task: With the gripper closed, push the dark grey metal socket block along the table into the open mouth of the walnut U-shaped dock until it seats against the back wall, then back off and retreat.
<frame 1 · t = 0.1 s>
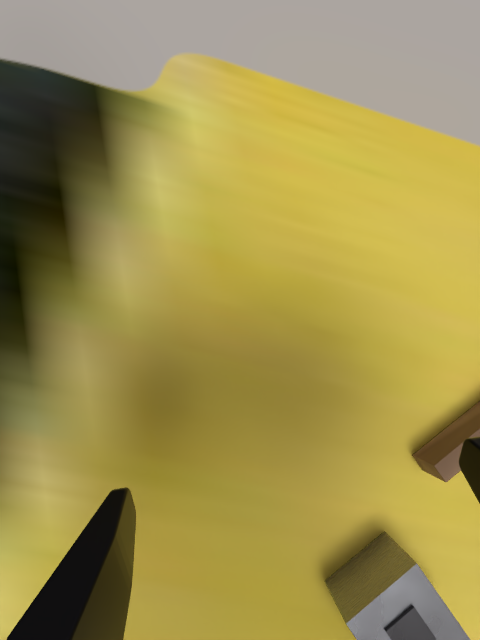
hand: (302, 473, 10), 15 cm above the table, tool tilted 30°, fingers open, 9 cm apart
socket: (376, 587, 24), on the table
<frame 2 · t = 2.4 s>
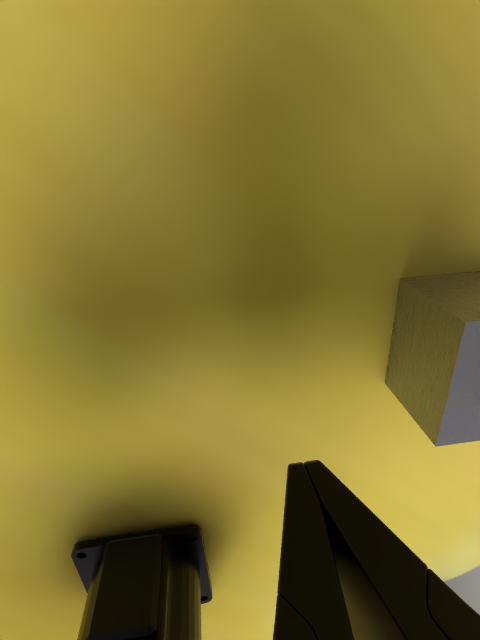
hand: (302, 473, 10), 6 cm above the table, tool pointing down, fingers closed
socket: (445, 327, 16), on the table
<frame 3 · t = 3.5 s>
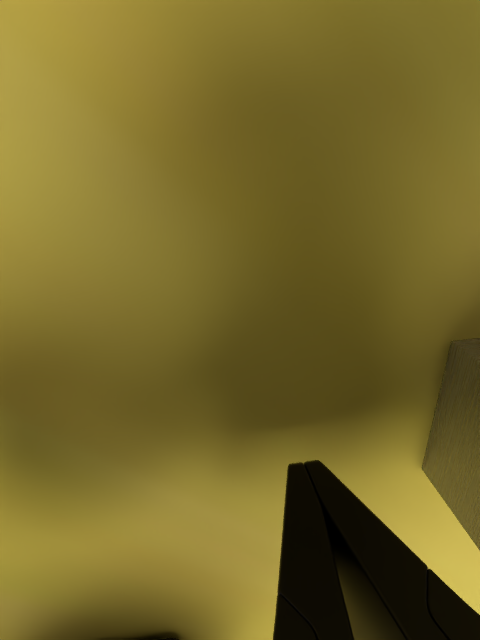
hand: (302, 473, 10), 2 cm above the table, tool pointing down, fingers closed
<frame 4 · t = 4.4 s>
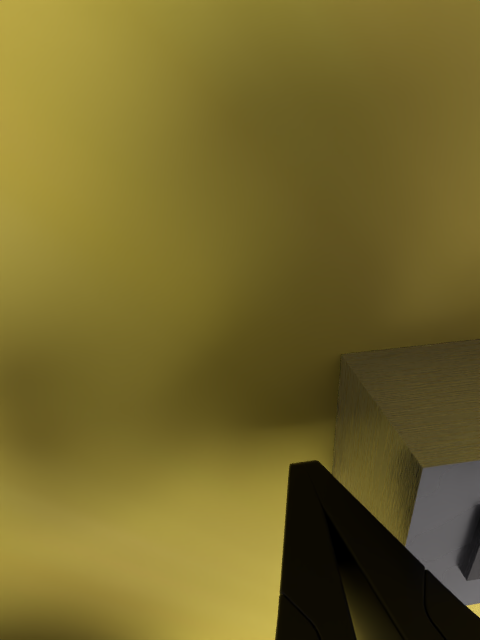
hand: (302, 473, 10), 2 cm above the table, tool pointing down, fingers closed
socket: (413, 414, 11), on the table, touching gripper
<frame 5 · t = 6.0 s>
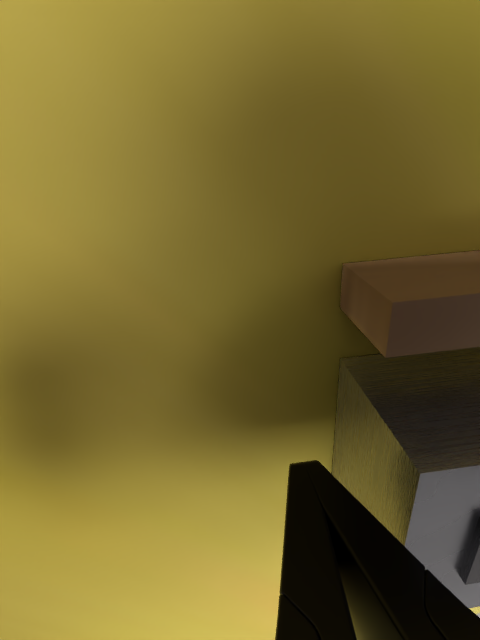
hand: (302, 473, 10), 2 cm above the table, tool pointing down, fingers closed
socket: (412, 417, 11), on the table, touching gripper
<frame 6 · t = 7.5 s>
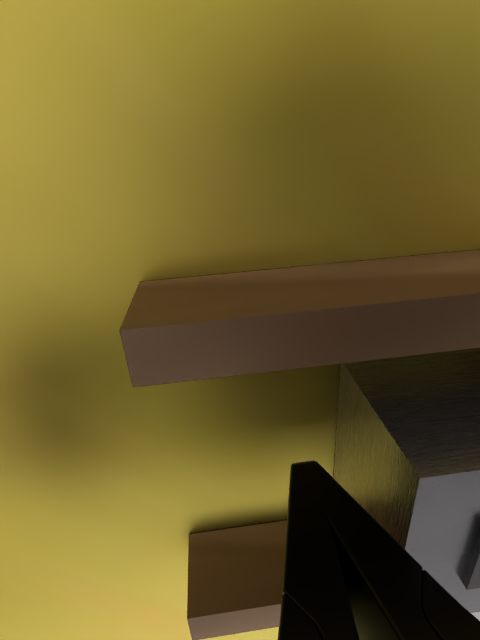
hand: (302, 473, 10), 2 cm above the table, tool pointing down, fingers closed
dock: (336, 426, 11), on the table
socket: (414, 419, 11), on the table, touching dock, gripper
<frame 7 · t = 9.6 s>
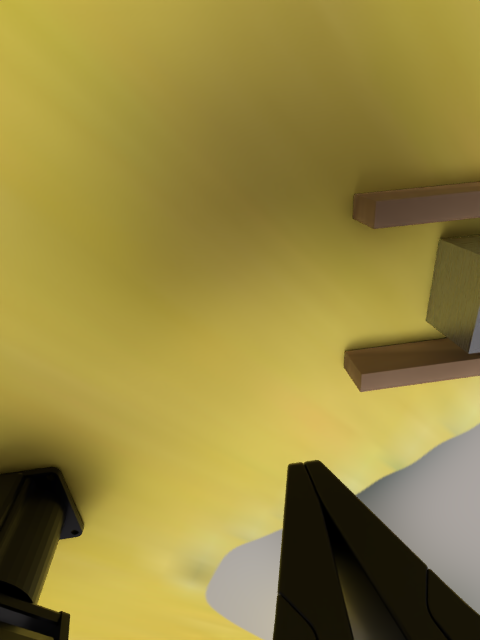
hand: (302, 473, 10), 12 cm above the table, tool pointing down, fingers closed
dock: (433, 280, 21), on the table
socket: (471, 276, 21), on the table
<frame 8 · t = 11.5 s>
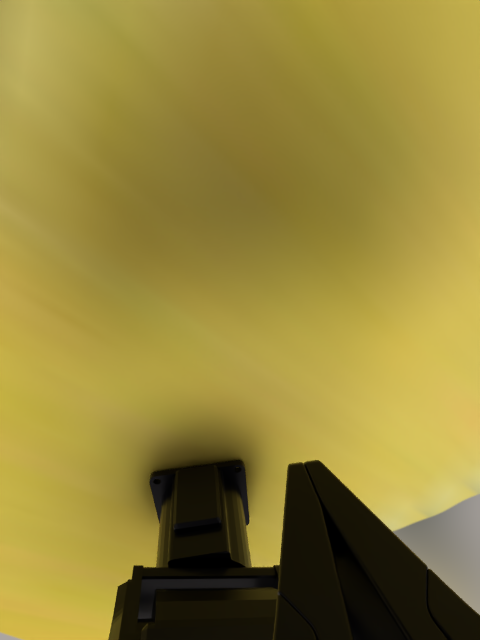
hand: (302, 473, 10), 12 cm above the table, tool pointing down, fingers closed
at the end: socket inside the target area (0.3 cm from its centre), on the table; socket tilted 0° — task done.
